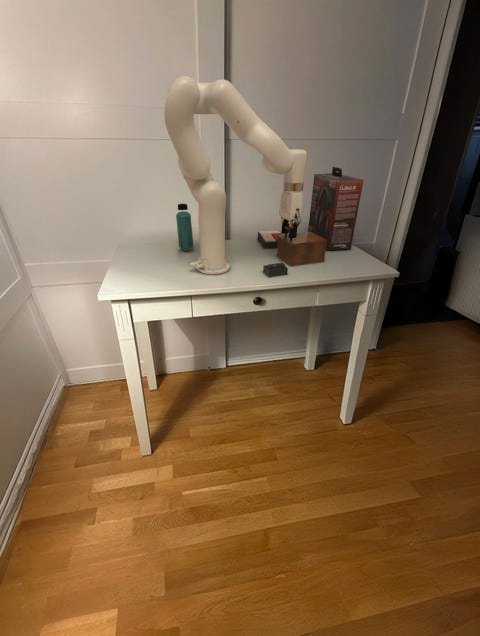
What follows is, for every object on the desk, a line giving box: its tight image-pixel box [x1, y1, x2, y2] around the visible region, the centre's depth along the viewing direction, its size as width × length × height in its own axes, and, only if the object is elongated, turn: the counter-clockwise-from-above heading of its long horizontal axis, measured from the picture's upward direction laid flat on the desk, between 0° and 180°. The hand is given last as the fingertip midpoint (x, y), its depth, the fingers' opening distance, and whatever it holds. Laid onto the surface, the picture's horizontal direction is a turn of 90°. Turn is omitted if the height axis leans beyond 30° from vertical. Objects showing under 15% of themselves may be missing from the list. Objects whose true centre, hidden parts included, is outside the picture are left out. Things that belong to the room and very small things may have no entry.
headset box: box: [307, 166, 365, 251], centre depth 143 cm, size 25×12×33 cm, turn 12°
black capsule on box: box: [262, 261, 289, 278], centre depth 117 cm, size 8×5×4 cm
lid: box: [276, 225, 327, 246], centre depth 126 cm, size 16×13×6 cm
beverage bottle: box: [175, 203, 194, 251], centre depth 134 cm, size 6×7×20 cm
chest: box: [276, 238, 327, 267], centre depth 130 cm, size 16×13×8 cm
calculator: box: [257, 230, 283, 250], centre depth 149 cm, size 11×4×15 cm
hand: (288, 235), depth 125 cm, fingers closed on lid, 5 cm apart
